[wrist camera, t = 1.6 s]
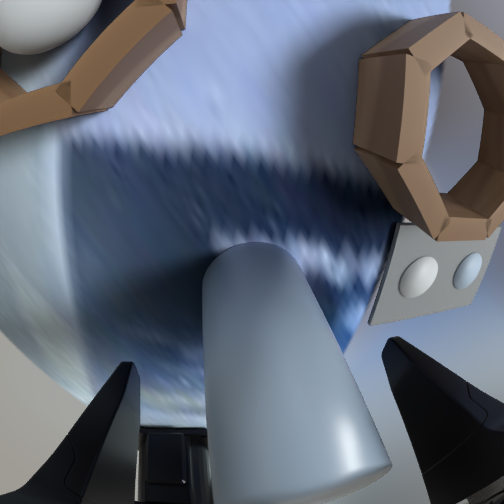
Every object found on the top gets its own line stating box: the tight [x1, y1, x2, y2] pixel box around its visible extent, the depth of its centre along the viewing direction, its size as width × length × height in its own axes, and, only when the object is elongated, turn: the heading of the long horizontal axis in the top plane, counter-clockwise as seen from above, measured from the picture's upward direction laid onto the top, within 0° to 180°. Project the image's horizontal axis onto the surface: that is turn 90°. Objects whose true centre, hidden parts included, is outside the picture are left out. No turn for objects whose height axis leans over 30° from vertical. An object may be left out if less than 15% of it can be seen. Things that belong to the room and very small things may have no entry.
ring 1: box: [0, 0, 187, 136], centre depth 5 cm, size 9×9×3 cm
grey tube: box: [202, 242, 392, 504], centre depth 9 cm, size 4×4×9 cm
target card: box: [368, 223, 501, 326], centre depth 14 cm, size 6×9×1 cm, turn 88°
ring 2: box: [353, 12, 504, 242], centre depth 9 cm, size 9×9×3 cm
